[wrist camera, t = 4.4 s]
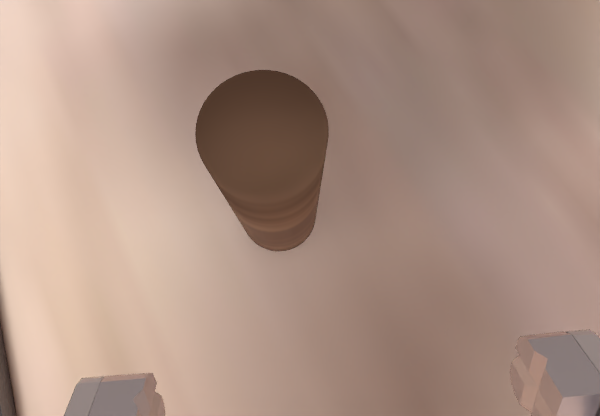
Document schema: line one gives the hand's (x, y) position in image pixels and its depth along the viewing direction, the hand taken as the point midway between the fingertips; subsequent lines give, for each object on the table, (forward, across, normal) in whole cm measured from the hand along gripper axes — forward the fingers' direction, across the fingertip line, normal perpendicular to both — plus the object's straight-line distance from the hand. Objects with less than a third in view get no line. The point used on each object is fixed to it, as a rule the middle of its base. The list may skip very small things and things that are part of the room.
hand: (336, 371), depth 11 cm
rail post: (+13, +1, +4) cm, 13 cm away
